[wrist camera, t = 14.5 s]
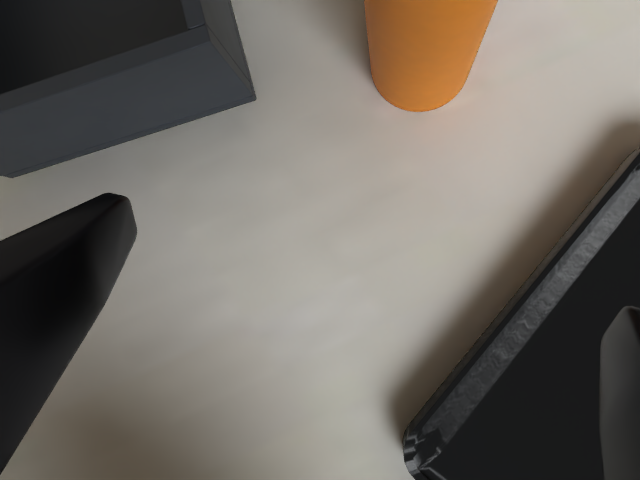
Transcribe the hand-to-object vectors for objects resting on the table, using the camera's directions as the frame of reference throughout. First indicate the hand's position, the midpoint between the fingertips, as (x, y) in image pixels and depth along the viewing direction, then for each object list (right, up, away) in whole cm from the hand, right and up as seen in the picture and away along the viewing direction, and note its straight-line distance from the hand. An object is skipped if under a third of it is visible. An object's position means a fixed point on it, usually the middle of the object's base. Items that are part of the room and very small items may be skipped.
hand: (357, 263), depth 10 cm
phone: (+10, -4, +10) cm, 14 cm away
